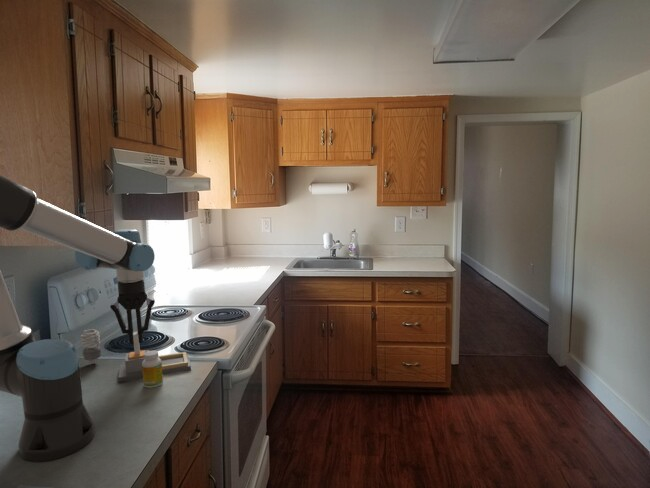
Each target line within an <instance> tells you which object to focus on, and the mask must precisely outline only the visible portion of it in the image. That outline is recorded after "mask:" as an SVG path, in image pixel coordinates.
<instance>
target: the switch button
mask: <svg viewBox="0 0 650 488" xmlns="http://www.w3.org/2000/svg"><path fill="white" fill-rule="evenodd" d="M129 353H130V354H129V360H130V359H137V358H143V357H144V353H145V349H144V350H143V349H142V350H140V354H138V355H135V352H134V351H130V352H129Z"/></svg>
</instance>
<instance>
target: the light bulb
mask: <svg viewBox="0 0 650 488" xmlns="http://www.w3.org/2000/svg"><path fill="white" fill-rule="evenodd" d="M100 338H101V336H100V331H98V330H97V329H94V328H89V329H86V330H85V329H84V330H83V331H82V334H81V335H80V341H81V343H80V344H82V348H84V349H83V350H82V356H83V359H84V360H85V361H88V363H89V364H90V365H94V364H96V363H97V361H98V358H100V357H101V356H102V352H101V351H102V349H101V347H100V344H101V339H100Z"/></svg>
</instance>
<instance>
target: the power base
mask: <svg viewBox="0 0 650 488" xmlns="http://www.w3.org/2000/svg"><path fill="white" fill-rule="evenodd" d="M144 350H145V349H144ZM148 351H150V350H149V349H147V350H145V352H148ZM129 354H130V352H126V353H125V358H124V359H125V360H124V362H123V363H120V364H119V372H118V376H117V377H118V378H117V379H118V380H117V381H118V383H122V382H128V381H135V380H140V379H142V380H143V371H142V362H143V361H144V360H145V359H144V357H143V358H137V359H130V360H129ZM158 358H160V359H161V363H162V376H165V375H166V376H167V375H172V374H178V373H184V372H189V371H192V366H191V361H190V356H189V353H187V352H186V351H183V352H176V353H168V354H163V355H158Z"/></svg>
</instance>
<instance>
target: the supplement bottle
mask: <svg viewBox="0 0 650 488" xmlns="http://www.w3.org/2000/svg"><path fill="white" fill-rule="evenodd" d="M158 356H159V351H157V350H149V351H148V352H145V353H144V359H145V360H144V361H143V362H142V371H143V378H142V380H143V382H142V383H143V386H144V387H145V388H150V389H152V388H157V387H159V386H161V385H162V384H163V383H164V377H163V376H164V375H162V363H161V359H160V358H158Z"/></svg>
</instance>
